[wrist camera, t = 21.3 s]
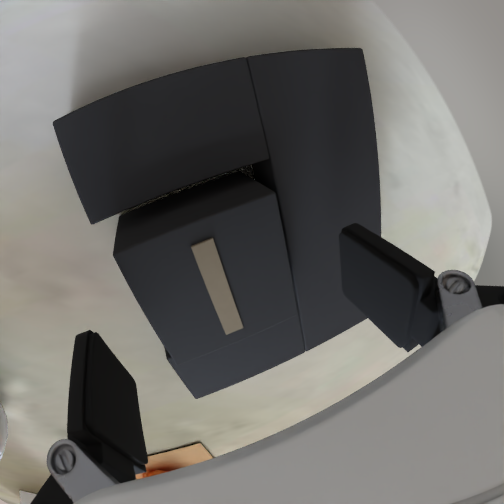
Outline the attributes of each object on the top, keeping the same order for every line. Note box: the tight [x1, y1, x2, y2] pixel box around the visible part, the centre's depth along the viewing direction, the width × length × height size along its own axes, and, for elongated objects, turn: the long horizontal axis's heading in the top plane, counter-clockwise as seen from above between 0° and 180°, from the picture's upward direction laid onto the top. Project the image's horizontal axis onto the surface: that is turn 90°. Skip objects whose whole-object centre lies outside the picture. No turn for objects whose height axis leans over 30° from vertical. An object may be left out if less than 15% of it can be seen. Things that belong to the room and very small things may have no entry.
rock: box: [135, 443, 213, 479], centre depth 22 cm, size 12×12×4 cm
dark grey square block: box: [113, 172, 298, 365], centre depth 13 cm, size 6×6×4 cm
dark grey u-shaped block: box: [53, 48, 381, 399], centre depth 14 cm, size 16×13×2 cm
